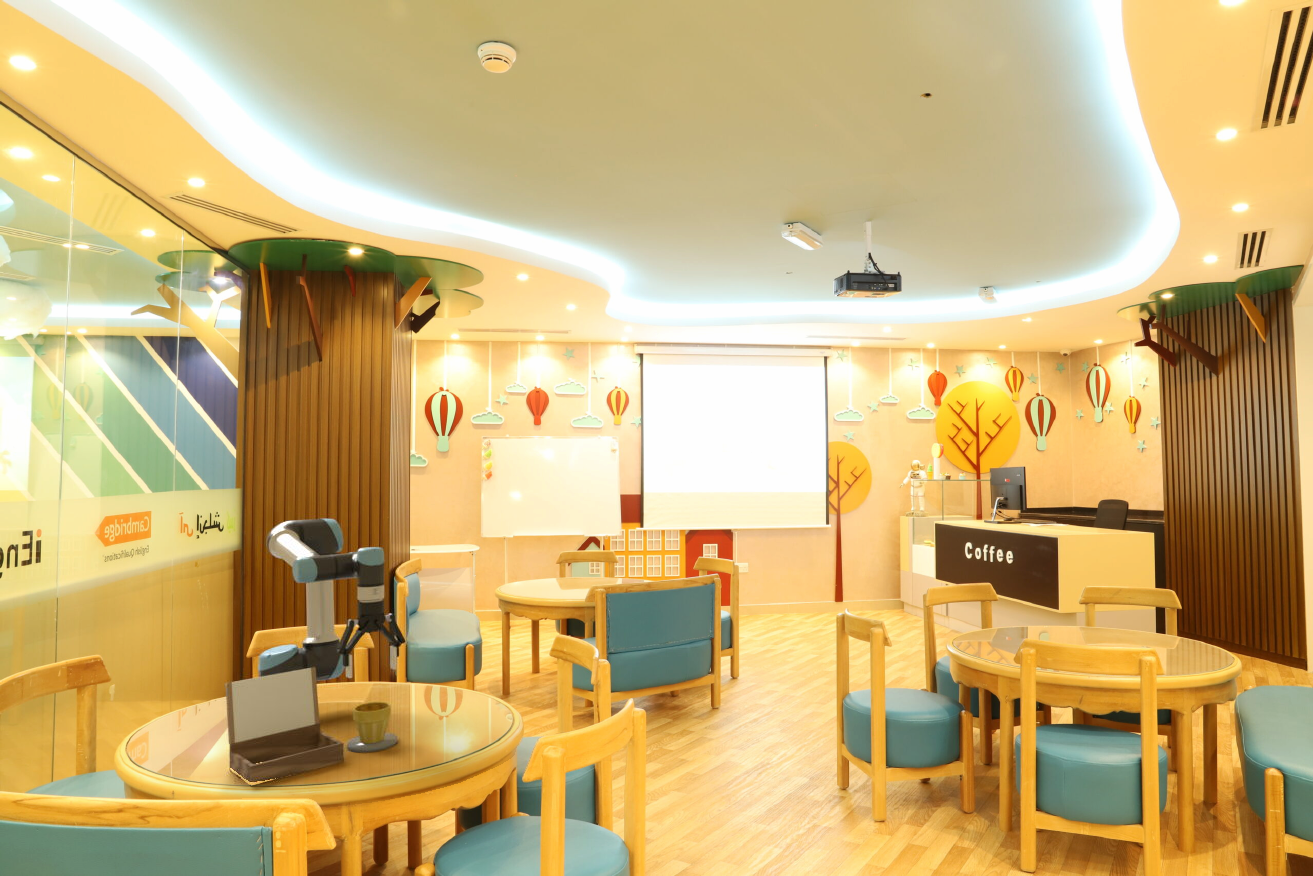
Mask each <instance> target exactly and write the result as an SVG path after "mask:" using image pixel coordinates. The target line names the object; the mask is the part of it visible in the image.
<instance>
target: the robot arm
mask: <svg viewBox="0 0 1313 876" xmlns="http://www.w3.org/2000/svg"><path fill="white" fill-rule="evenodd" d="M265 542H266V543H265V545H266V549H267V550H268V553H270V554H271V555H272V556H274V557H275V558H278V559H282V560H283V561H285V562H286V563H287V564H288V566H289V565H290V567H292V577H293V579H294V581H295V582H296V583H297V584H300V583H303V584H305V589H306V590H305V591H306V592H305V594H306V596H305V597H306V637H305V638H304V639H303V641H302V647H298V645H297V644H286V645H285V644H283V645H278V646H275V647H272V648H269V649H267V650H264V651H263V652H261V653H260V655H259V656H258V664H257V665H258V667H257V670H258V677H263V676H268V675H274V674H279V673H285V672H291V671H296V670H302V669H307V668H312V667H316V681H317V682H320V681H329V680H331V679H335V678H338V677H340V676H341V675H342V673H343V672H344V670H345V678H348V679H352V678H353V654H350V653H351V652H353V650H354V648H355V647H356V646H357V644H358V643H359V642H360V640H361V638H362V637H363V636H365V634H371V633H372V632H373V633H378V632H380V633H381V634H382V635H383V636H384V637H385V638H386V639H387V640H388V642H390V643H391V645H390V646H389V669H391V670H397V668H398V665H397V663H398V662H397V658H398V657H399V656H400V647H402V644H406V639H405V637H404V635H403V633H402V630H401V629H400V627H399V626H398V624H397V621H396V615H395V614H394V613H387V614H386V615H385V606H386V605H385V600H384V598H385V561H386V559H385V550H384V549H383V547H378V546H377V547H376V546H371V547H370V546H369V547H360V548H359V549H358V550H357V551H351V552H348V553H340V552H342V550H343V548H344V546H343V545H344V536H343V531H342V528H341V525H340V524H339V523H338V521H337V520H335V519H334V518H323V517H322V518H317V519H316V518H314V519H311V518H310V519H297V520H295V519H294V520H293V519H292V520H291V519H290V520H287V521H283V522H281V523H278V524H277V525H275V526H274V527H273V528H272V529H271V530H270V531H269V532H268V535H267V537H266V539H265ZM338 553H339V554H338ZM355 578H357V581H356V582H357V585H356V586H357V600H358V602H357V619H351V618H349V619H347V620H346V625H345V629H344V631H343V634H342V636H341V638H340V636H338V635H337V634H336V632H335V605H334V604H335V603H334V602H335V601H334V580H336V581H337V580H346V579H355ZM385 622H388V625H389V626H390V628H391V630H392V632H393V634H392V633H391V632H390V631H389V630H388V629H387V627H386V626H385V625H384V623H385ZM356 625H357V626H358V627H357V628H356V630H355V633H354V634H353V636H352V633H353V631H354V628H355V627H356ZM351 636H352V637H351ZM394 636H395V637H394Z"/></svg>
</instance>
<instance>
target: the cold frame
mask: <svg viewBox="0 0 1313 876" xmlns="http://www.w3.org/2000/svg"><path fill="white" fill-rule="evenodd" d="M260 762H262V763H260ZM343 762H344V742H342V741H341V740H339V739H337V738H334V737H333V736H331V735H329V734H327V733H325V732H323V731H321V723H319V724H315V725H310V726H306V727H302V728H297V729H293V730H288V731H284V732H280V733H275V734H271V735H267V736H262V737H258V738H254V739H249V740H245V741H241V742H236V743H232V744H229V769H230V768H232V769H233V770H234V771H236V772H237V773H238V774H239V775H241V776H242V777H243V778H244V779H246V780H248V781H249V782H257V781H265V780H270V779H275V778H276V779H277V778H280V779H282V778H281V777H284V778H287V777H286V776H288V777H290V776H289V775H291V776H294V774H295V775H298V774H297V773H299V774H301V773H307V772H309V771H313V770H316V769H321V768H324V767H329V766H333V765H336V764H339V763H343ZM256 763H258V764H256ZM277 780H278V779H277Z"/></svg>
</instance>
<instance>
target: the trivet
mask: <svg viewBox="0 0 1313 876" xmlns="http://www.w3.org/2000/svg"><path fill="white" fill-rule="evenodd" d="M396 743H397V744H398V735H397V734H394V733H391V732H385V737H384V739H383V740H382V741H380V742H377V743H370V744H365V743H362V742H361V741H360V737H359V735H357V736H355V737H352V738H351V739H349V740H348V741H347V743H346V749H347V751H349V752H353V753H373V752H379V751H384V750H387V749H389V748H392V747H394V746H396V745H397V744H396Z"/></svg>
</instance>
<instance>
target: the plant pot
mask: <svg viewBox="0 0 1313 876" xmlns="http://www.w3.org/2000/svg"><path fill="white" fill-rule="evenodd" d="M391 706H392V705H391V703H390V702H385V701H372V702H371V701H370V702H364V703H360V704H358V705H356V706H355V707H353V709H352V711H353V712H352V714H353V715H352V718H353V722H355V724H356V729H357V732H358V736H359V737H360V741H361V742H362V743H365V744H370V743H377V742H380V741H382V740H383V739H384V737H385V733H387V732H386V731H387V726H388V720H389V719H390V717H391V714H392V713H391V712H392V707H391Z"/></svg>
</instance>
